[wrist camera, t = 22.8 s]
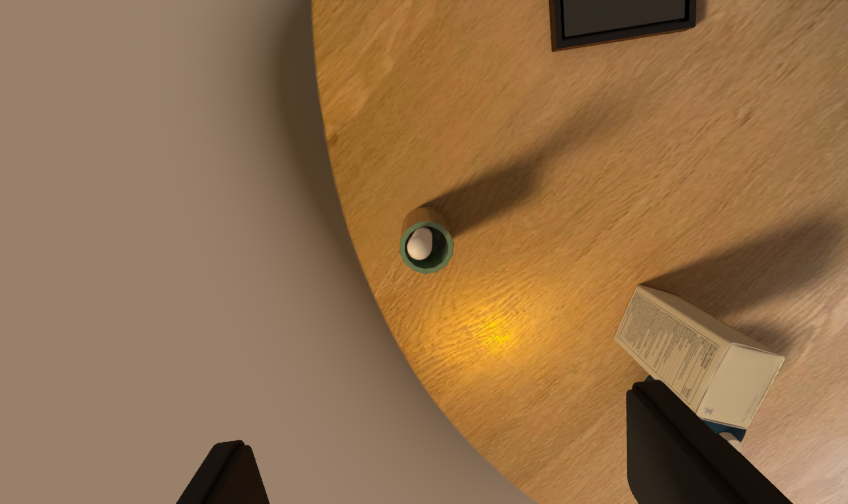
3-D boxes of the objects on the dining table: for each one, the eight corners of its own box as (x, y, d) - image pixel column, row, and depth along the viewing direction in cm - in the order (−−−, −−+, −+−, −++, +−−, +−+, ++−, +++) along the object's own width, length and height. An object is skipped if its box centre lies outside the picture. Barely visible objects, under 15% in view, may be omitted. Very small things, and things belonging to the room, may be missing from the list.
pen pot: (398, 210, 36) (395, 226, 29) (443, 203, 36) (450, 217, 29) (406, 252, 37) (403, 277, 30) (449, 245, 37) (457, 269, 30)
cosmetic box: (650, 348, 40) (746, 433, 29) (610, 338, 40) (690, 420, 28) (677, 292, 39) (790, 358, 27) (635, 281, 38) (732, 342, 27)
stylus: (415, 223, 36) (404, 238, 22) (431, 221, 36) (429, 234, 22) (418, 238, 36) (408, 263, 22) (433, 236, 36) (433, 259, 22)
